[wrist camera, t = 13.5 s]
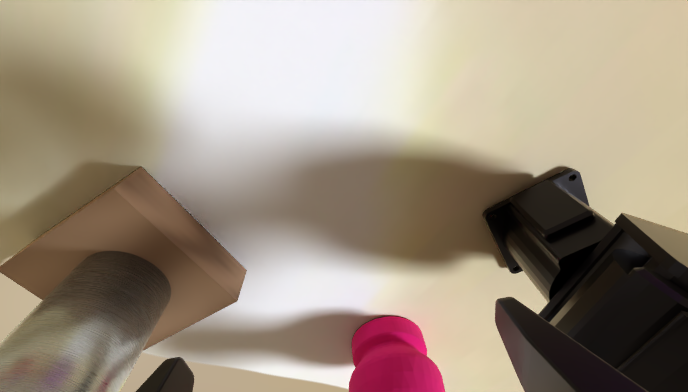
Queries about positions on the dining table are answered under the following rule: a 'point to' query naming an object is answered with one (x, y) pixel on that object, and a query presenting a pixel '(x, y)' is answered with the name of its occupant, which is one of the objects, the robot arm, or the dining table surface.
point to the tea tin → (87, 328)
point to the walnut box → (137, 251)
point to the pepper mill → (392, 358)
